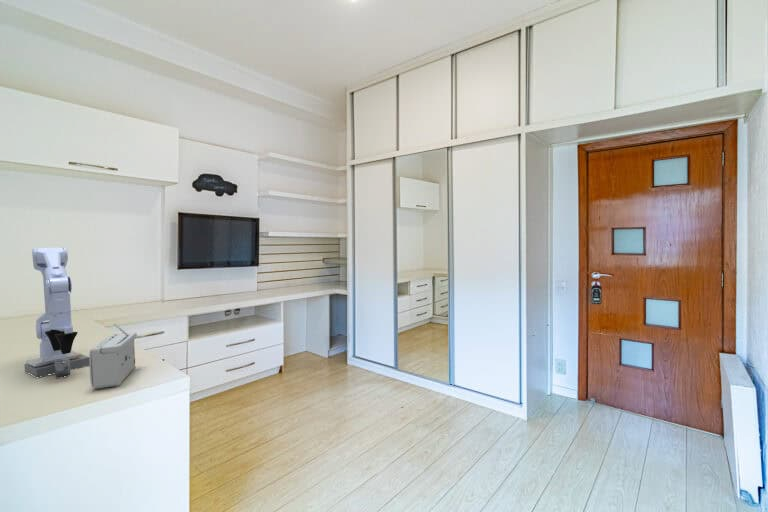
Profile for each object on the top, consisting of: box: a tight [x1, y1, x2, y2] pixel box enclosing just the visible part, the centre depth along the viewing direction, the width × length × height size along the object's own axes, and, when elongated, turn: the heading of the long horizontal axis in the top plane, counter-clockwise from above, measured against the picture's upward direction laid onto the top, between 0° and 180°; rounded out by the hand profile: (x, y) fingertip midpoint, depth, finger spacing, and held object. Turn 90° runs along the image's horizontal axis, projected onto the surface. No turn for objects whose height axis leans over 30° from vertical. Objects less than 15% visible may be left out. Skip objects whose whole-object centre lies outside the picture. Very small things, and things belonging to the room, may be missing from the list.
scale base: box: [24, 353, 90, 378], centre depth 135 cm, size 12×15×3 cm
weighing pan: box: [26, 350, 82, 367], centre depth 134 cm, size 8×13×1 cm, turn 148°
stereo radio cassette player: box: [88, 323, 138, 390], centre depth 124 cm, size 21×8×20 cm, turn 21°
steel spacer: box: [54, 360, 72, 378], centre depth 127 cm, size 4×4×5 cm
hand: (61, 351), depth 127 cm, fingers open, 7 cm apart
